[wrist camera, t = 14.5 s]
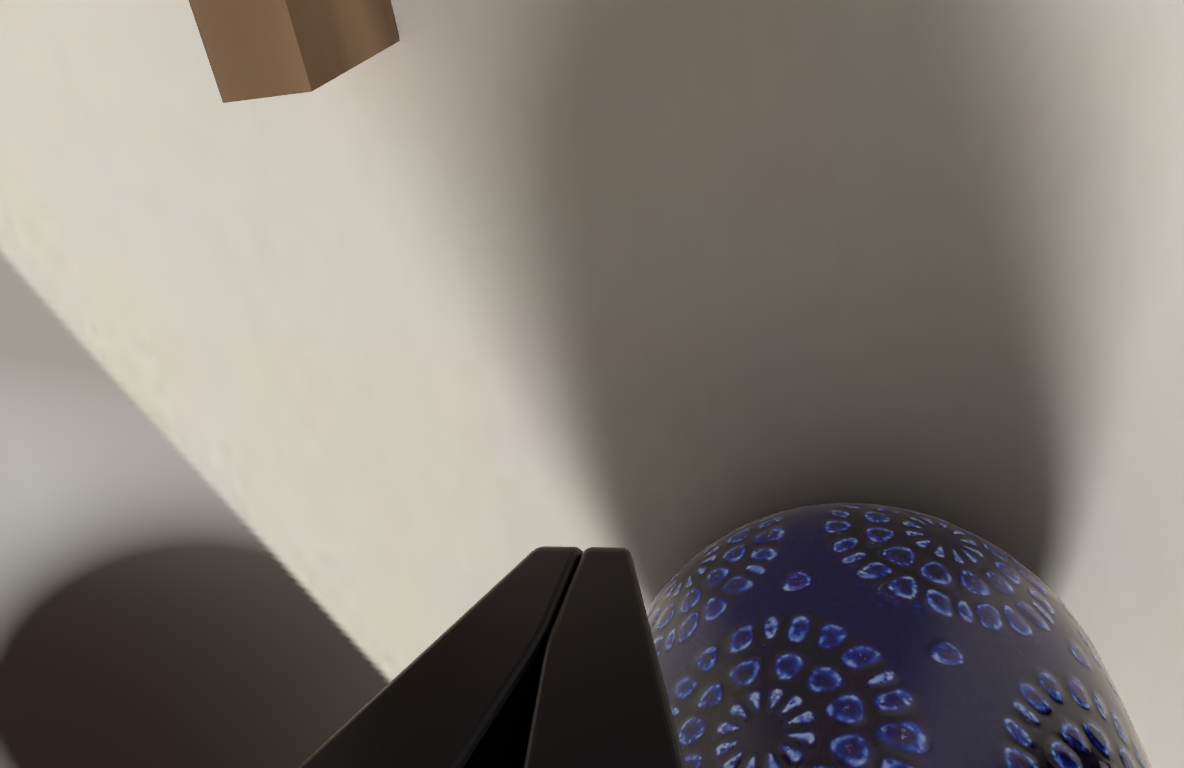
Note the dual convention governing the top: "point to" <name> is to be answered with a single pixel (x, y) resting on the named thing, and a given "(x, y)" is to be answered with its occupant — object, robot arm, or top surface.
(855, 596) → the planter
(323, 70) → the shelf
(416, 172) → the top surface
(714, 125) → the top surface
